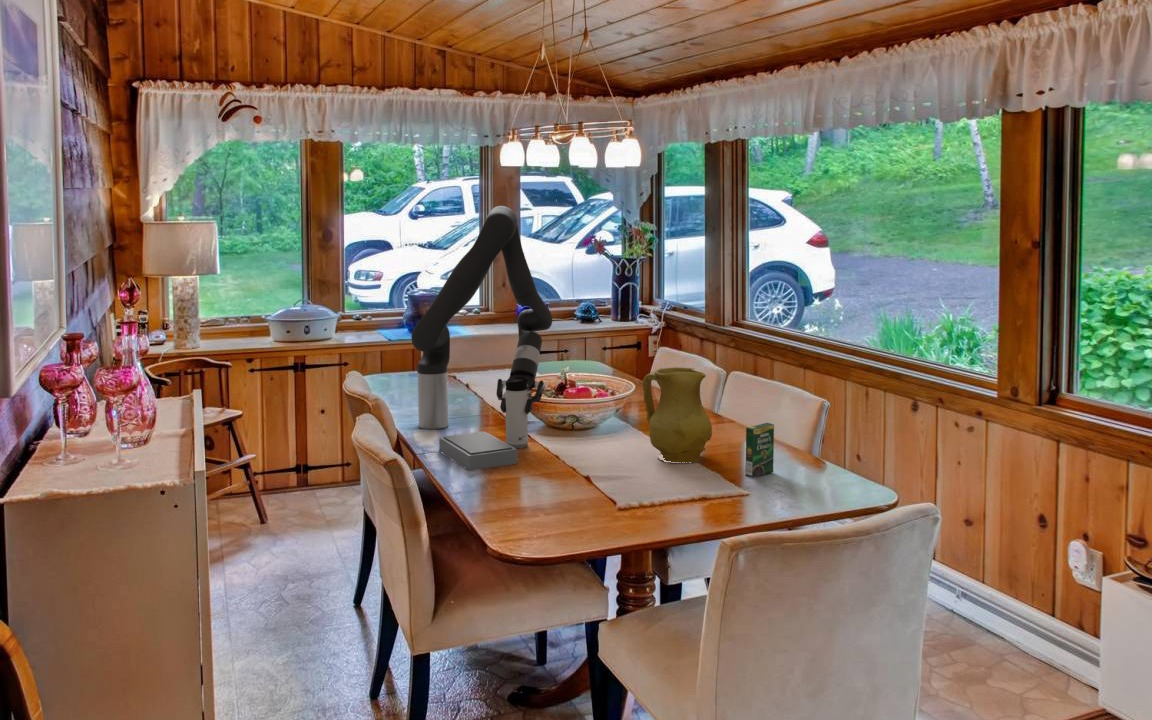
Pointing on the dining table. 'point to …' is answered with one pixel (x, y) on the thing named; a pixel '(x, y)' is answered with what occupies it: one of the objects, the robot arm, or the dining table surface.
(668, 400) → the pitcher
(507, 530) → the dining table surface
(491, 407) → the dining table surface
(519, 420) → the travel mug
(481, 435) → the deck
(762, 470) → the coffee box
